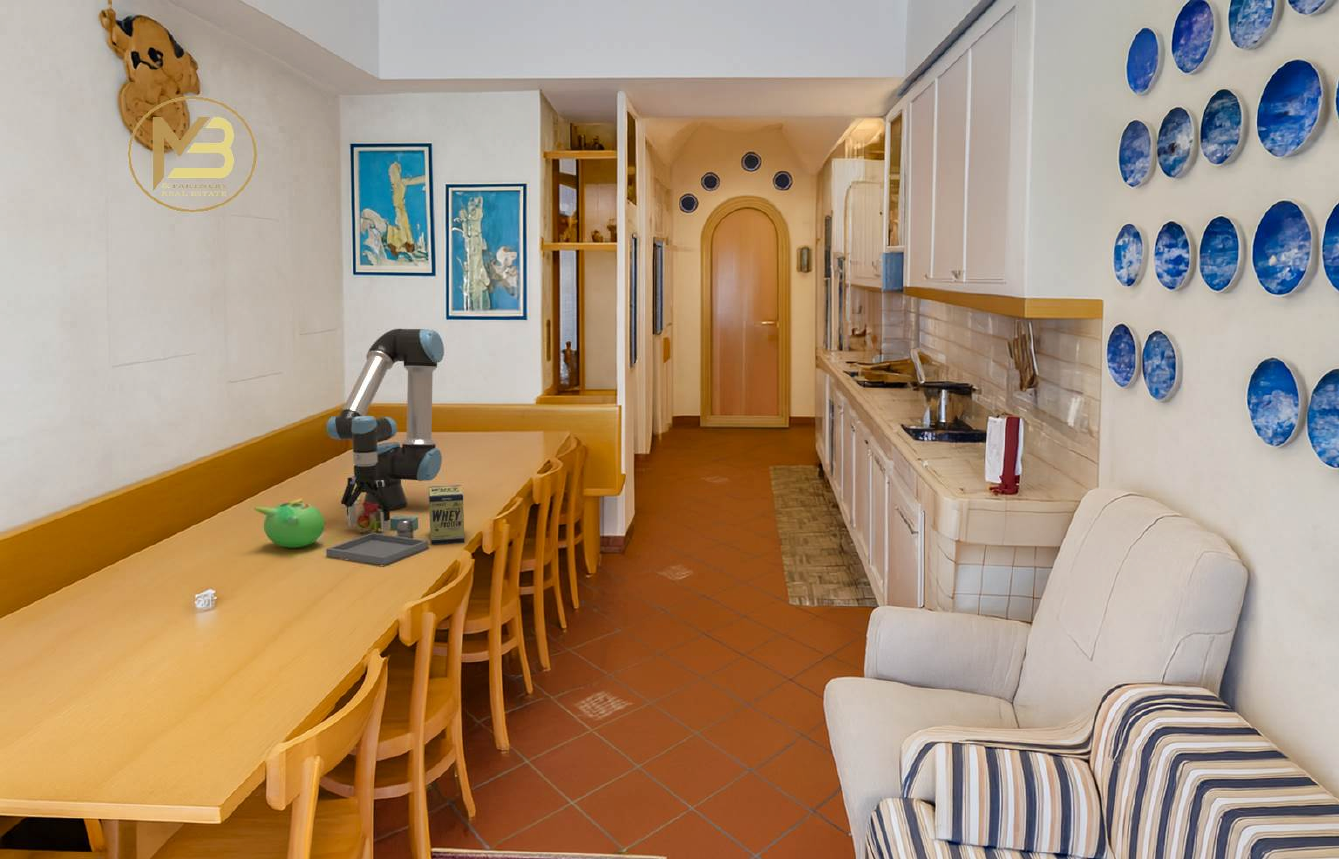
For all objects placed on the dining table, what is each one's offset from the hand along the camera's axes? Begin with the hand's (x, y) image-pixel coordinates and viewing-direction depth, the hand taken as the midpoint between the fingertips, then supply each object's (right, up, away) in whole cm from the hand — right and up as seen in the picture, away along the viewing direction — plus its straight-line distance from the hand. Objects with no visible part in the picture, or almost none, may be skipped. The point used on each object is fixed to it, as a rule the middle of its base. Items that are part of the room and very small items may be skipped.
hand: (368, 528), depth 309 cm
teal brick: (+10, -1, +6) cm, 12 cm away
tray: (+10, -5, -21) cm, 24 cm away
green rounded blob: (-18, -4, -15) cm, 24 cm away
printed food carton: (0, -2, 0) cm, 2 cm away
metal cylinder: (+14, -3, -6) cm, 15 cm away
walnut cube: (-2, 0, +11) cm, 11 cm away
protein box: (+27, -3, -4) cm, 27 cm away
